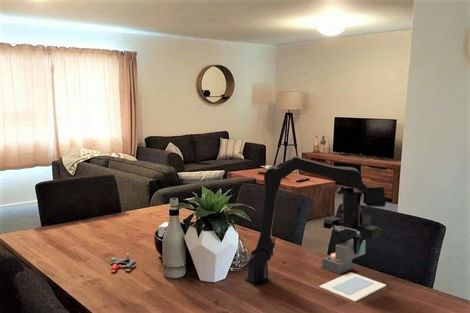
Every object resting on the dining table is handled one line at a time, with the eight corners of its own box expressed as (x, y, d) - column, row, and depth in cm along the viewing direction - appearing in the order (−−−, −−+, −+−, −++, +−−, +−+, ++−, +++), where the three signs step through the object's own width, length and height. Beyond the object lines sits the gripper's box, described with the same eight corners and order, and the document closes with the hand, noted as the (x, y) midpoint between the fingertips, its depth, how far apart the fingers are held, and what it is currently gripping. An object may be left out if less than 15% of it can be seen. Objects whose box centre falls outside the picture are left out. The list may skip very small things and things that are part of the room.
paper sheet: (355, 301, 133) (355, 300, 133) (318, 286, 144) (318, 285, 144) (386, 285, 145) (386, 284, 145) (350, 273, 155) (350, 271, 155)
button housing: (339, 274, 154) (339, 264, 154) (321, 267, 160) (321, 258, 160) (352, 268, 159) (352, 259, 159) (334, 262, 165) (334, 253, 165)
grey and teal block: (345, 261, 138) (345, 248, 137) (335, 258, 141) (335, 245, 140) (365, 253, 145) (365, 240, 145) (355, 250, 148) (355, 237, 148)
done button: (338, 266, 156) (338, 258, 156) (327, 262, 160) (328, 254, 159) (346, 263, 159) (346, 255, 159) (335, 259, 163) (336, 251, 163)
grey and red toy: (112, 262, 166) (111, 249, 165) (139, 266, 162) (139, 253, 162) (96, 271, 157) (96, 258, 156) (125, 276, 153) (124, 262, 152)
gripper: (390, 207, 139) (389, 253, 141) (342, 198, 153) (341, 240, 155) (371, 213, 132) (370, 262, 134) (322, 203, 146) (322, 247, 148)
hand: (350, 252), depth 143 cm, fingers closed on grey and teal block, 4 cm apart
